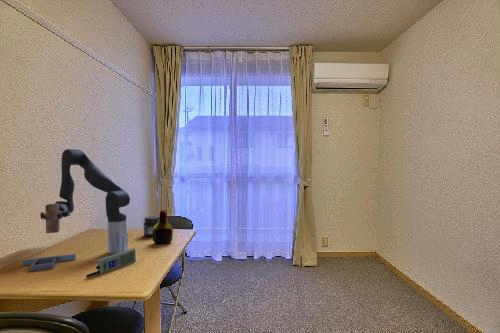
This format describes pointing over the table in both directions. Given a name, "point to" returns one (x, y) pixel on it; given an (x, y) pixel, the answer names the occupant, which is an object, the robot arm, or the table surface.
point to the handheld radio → (114, 262)
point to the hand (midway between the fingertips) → (51, 217)
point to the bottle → (162, 230)
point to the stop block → (52, 218)
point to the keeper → (46, 261)
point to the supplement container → (149, 225)
